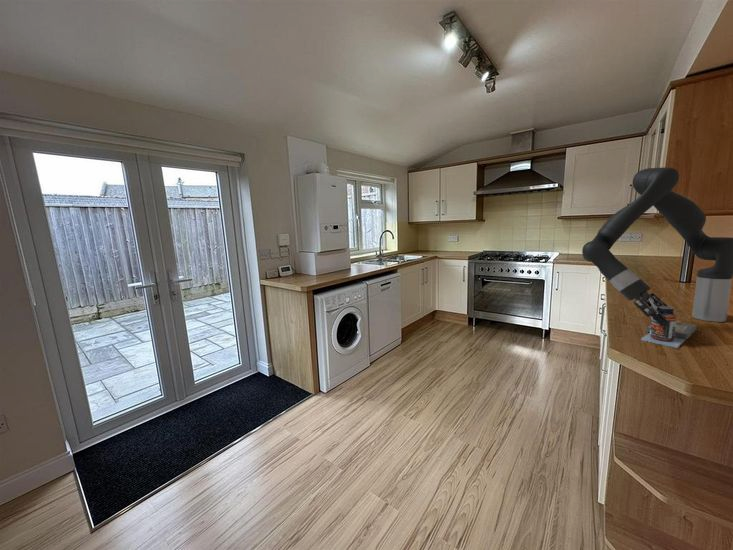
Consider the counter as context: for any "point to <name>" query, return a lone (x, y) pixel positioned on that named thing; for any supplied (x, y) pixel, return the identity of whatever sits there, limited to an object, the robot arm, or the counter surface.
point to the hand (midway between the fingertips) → (669, 322)
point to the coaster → (674, 343)
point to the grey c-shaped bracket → (686, 330)
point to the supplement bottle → (664, 331)
